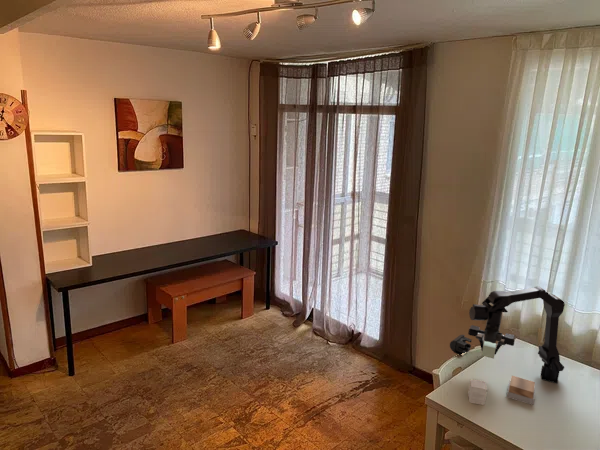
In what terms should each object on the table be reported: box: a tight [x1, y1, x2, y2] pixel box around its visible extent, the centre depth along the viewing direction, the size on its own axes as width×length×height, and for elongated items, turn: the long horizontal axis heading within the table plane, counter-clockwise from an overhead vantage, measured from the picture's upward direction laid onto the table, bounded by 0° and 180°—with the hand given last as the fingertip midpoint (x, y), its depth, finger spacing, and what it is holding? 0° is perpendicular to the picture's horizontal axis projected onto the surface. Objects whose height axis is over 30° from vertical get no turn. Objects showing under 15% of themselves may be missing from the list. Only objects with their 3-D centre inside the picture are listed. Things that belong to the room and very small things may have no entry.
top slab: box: [509, 375, 536, 399], centre depth 190 cm, size 9×9×3 cm
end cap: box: [449, 334, 473, 356], centre depth 226 cm, size 10×7×7 cm
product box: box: [467, 378, 488, 406], centre depth 186 cm, size 6×6×7 cm
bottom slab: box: [506, 380, 535, 405], centre depth 191 cm, size 10×10×3 cm
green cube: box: [481, 341, 497, 359], centre depth 201 cm, size 5×5×5 cm
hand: (488, 352), depth 201 cm, fingers closed on green cube, 5 cm apart
